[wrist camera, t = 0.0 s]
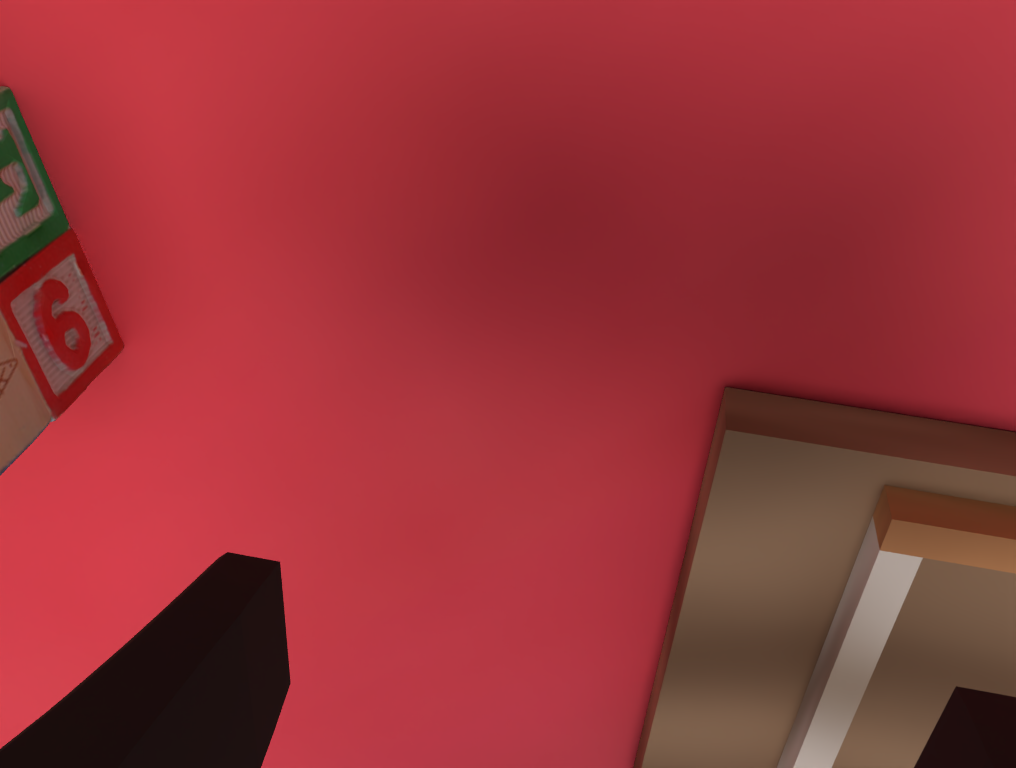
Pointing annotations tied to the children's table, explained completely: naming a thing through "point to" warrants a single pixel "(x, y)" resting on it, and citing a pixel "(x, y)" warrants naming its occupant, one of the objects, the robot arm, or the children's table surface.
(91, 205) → the children's table surface
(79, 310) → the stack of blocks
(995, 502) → the dock
